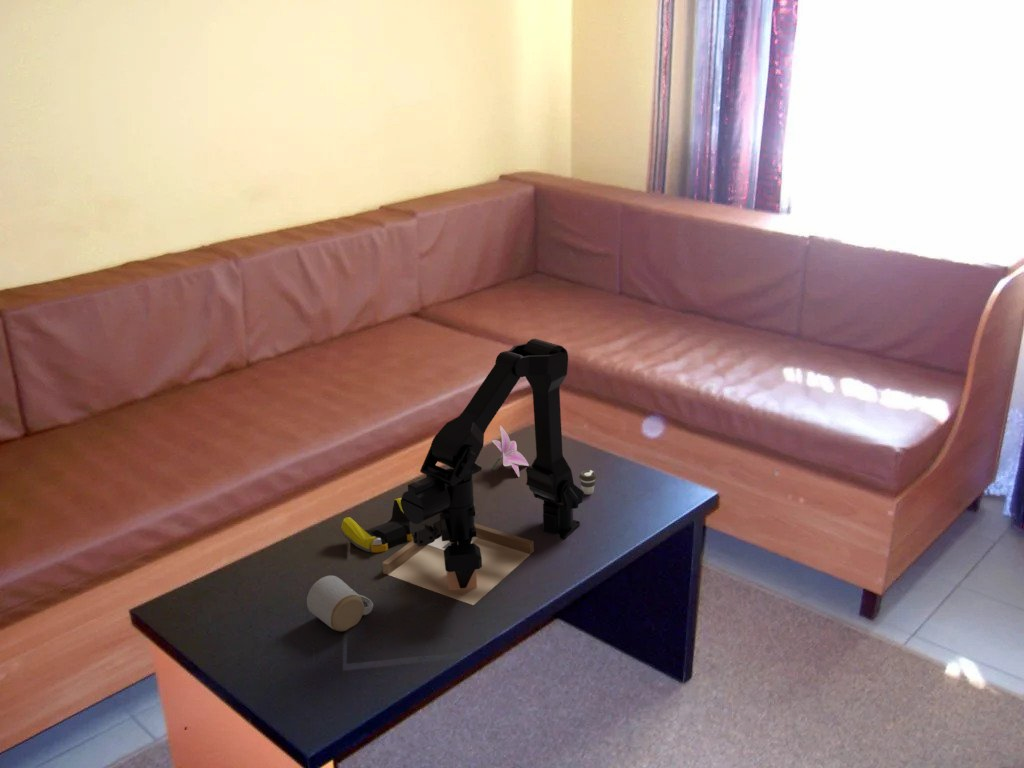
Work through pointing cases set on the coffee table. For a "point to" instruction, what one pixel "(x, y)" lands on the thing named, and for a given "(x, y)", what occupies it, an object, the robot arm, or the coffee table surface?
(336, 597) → the ceramic mug
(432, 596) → the coffee table surface
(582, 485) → the coffee cup
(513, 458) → the lily
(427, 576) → the arena
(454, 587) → the cube
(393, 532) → the gaming controller
